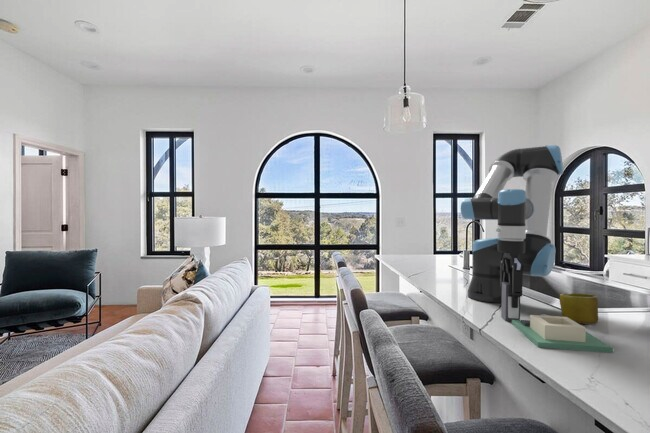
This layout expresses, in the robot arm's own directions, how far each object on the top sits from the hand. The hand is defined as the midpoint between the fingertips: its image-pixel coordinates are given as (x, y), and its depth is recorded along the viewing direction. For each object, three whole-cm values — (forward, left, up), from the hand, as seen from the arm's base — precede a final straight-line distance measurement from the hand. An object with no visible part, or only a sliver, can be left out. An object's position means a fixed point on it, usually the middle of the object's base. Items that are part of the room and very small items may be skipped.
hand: (510, 315), depth 104 cm
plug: (0, 0, -1) cm, 1 cm away
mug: (-4, +20, -1) cm, 21 cm away
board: (+14, +7, -1) cm, 15 cm away
